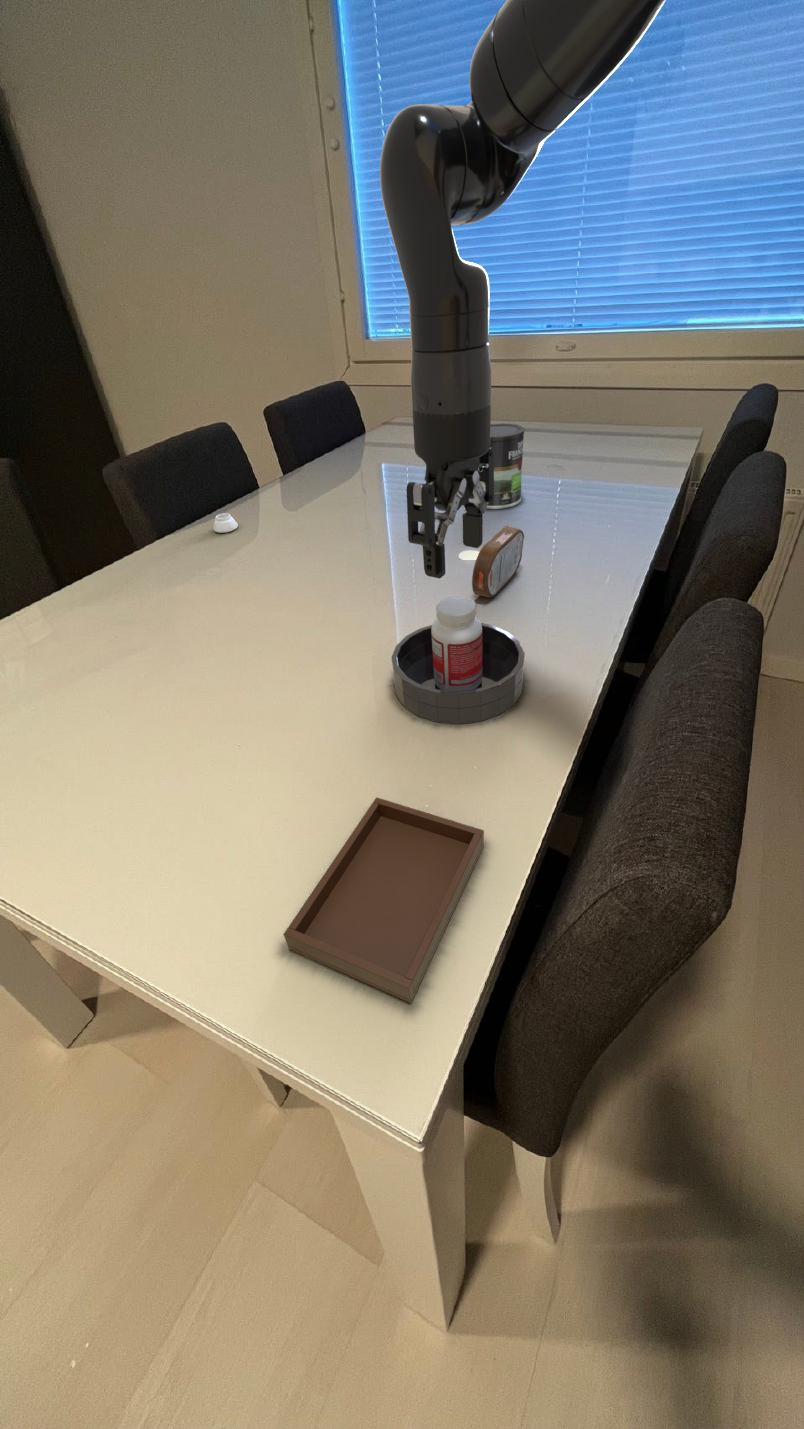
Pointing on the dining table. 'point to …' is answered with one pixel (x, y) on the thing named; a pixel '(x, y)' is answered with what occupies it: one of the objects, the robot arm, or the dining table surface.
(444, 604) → the pill bottle
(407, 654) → the bowl
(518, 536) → the tin
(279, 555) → the dining table surface
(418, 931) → the tray
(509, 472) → the coffee can
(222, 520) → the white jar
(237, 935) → the dining table surface
